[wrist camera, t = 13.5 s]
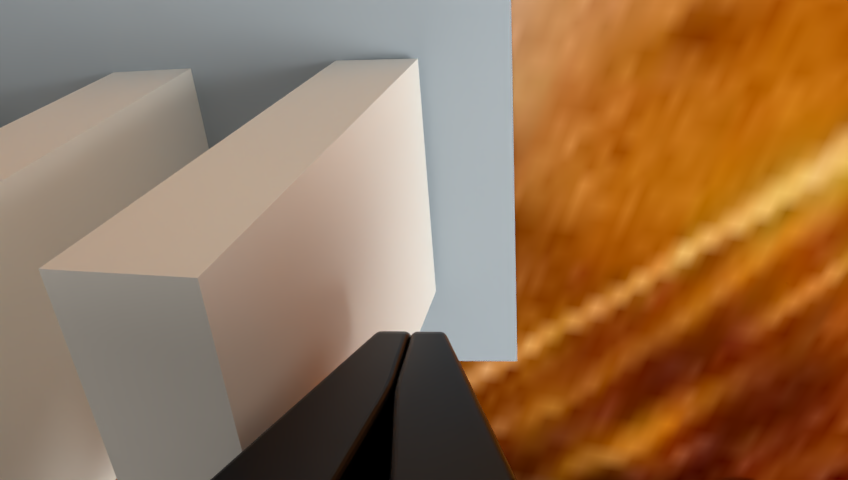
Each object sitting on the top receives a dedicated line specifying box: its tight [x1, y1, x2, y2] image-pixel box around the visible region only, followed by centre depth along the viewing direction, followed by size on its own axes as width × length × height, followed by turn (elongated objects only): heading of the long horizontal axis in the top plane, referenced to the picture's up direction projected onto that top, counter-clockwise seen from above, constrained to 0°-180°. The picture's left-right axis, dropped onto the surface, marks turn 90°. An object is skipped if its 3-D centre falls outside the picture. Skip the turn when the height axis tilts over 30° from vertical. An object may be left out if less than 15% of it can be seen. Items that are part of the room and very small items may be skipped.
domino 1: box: [0, 68, 209, 480], centre depth 11 cm, size 2×5×8 cm, turn 4°
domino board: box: [0, 0, 517, 361], centre depth 16 cm, size 23×9×1 cm, turn 94°
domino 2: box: [39, 58, 436, 480], centre depth 11 cm, size 2×5×8 cm, turn 3°
